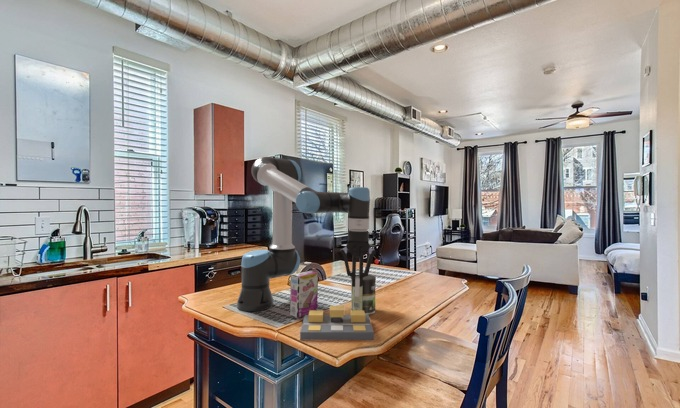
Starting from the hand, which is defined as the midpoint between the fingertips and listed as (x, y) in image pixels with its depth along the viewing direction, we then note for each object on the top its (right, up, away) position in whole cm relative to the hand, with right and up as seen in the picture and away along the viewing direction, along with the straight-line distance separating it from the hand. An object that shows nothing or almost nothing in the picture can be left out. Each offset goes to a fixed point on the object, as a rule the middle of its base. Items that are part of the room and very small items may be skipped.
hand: (356, 295), depth 114 cm
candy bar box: (-20, -11, +13) cm, 27 cm away
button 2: (-7, -9, 0) cm, 12 cm away
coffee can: (+4, -12, +17) cm, 21 cm away
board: (-7, -11, -3) cm, 14 cm away
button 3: (0, -11, 0) cm, 11 cm away
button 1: (-15, -11, -1) cm, 18 cm away
